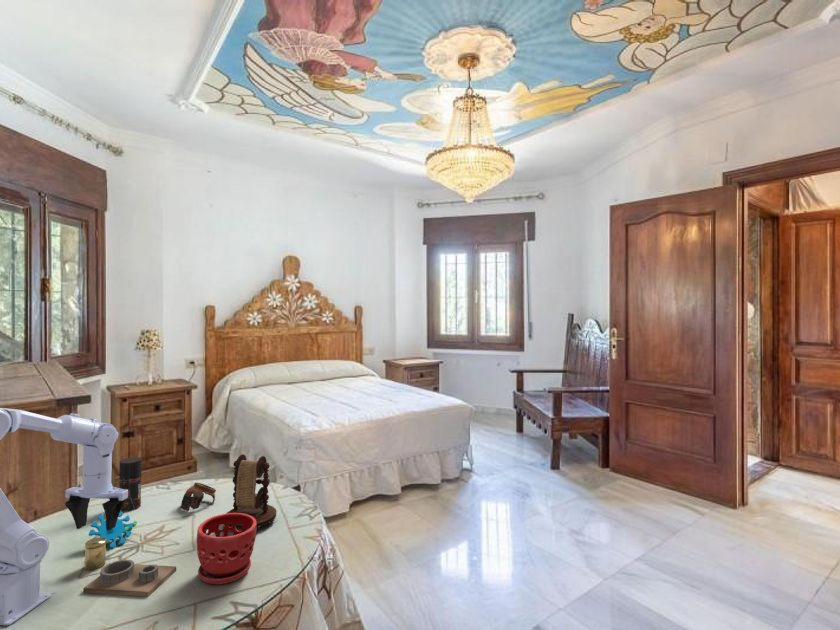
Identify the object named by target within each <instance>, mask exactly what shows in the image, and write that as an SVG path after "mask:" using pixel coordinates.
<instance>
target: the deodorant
mask: <svg viewBox="0 0 840 630" xmlns="http://www.w3.org/2000/svg"><path fill="white" fill-rule="evenodd" d="M142 460H143V459H142V457H127V458H123V459H121V460H119V473H118V475H119V476H118V478H119V479H118V481H119V482H118V488H120V489H125V490H128V498H127V500H126V502H125V503H124V505H123V507H122V509H121V512H122V513H124V512H125V513H126V512H130V511H131V512H132V511H135V510H137V509H139V508H141V507H142V506H141V505H142V471H143V470H142V469H143V468H142V465H143V461H142Z"/></svg>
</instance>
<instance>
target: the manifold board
mask: <svg viewBox="0 0 840 630" xmlns="http://www.w3.org/2000/svg"><path fill="white" fill-rule="evenodd" d="M176 571H177V566H175V565H173V566H172V565H158V564H141V563H140V564H139V563H137V564H136V563H135V561H133V560H131V559H119V560H116V561H112V562H110V563H107V564H105V565H104V566H103V567H102V568H100V571H99V576H97V577H96V578H95V579H93V580H91V581H90V582H89V583H88V584H86V586H84V587H83V593H86V594H103V595H104V594H105V595H106V594H107V595H117V596H118V595H120V596H133V597H134V596H135V597H139V596H140V597H150V596H151V595H152V594H153V593H154V592H155V591H156V590H157V589H159V588H160V587H161V585H163V584H164V583H165V582H166V581H167V580H169V578H170V577H171V576H172V575H174V573H175V572H176Z"/></svg>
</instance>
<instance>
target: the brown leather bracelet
mask: <svg viewBox="0 0 840 630" xmlns="http://www.w3.org/2000/svg"><path fill="white" fill-rule="evenodd" d="M216 491H217V490H216V489H215V488H214V487H211V486H209V485H206V484H204V483H201V482H196V481H195V482H194V484H193V485H191V486H190V487H189V488H187V490H186V491H185V492H184V495H183V497H182V500H181V503H180V509H181V510H183V511H186V512H189V511H190V508H191V509H192V510H197V509H199V508H200V505H201V503H202V501H203V499H204V497H205V495H208V496H211V497H212V502H211V503H213V504H214V503H215V500H216V494H215V493H216Z"/></svg>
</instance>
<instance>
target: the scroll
mask: <svg viewBox="0 0 840 630" xmlns="http://www.w3.org/2000/svg"><path fill="white" fill-rule="evenodd" d="M232 465H233V469H234V473H233V478H232V483H233V485H234V487H233V491H234V492H233V493H232V497H233V499H232V500H233V505H232V507H233V508H232V509H230V510H229V511H227V512H226V513H225V514H227V513H243V514H248V515H250V516H252V517H254V518H255V520H256V522H257V527H256V533H257V532H258V531H259V528H260V527H263V526H266V525H268V524H270V523H271V522H273V521H274V520H275V519H276V518H277V509H276V508H275V507H274V506H272V505H270V504H269V501H268V500H269V499H270V495H269V489H268V488H269V485H270V482H271V480H270V479H269V471H270V470H269V469H270V467H271V465H270V463H268V462H267V458H266V456H265V455H261V456H260V457H259V458H258V459H257V460H248V459H247V456H246V455H245V454H243V453H242V454H240V455H239V456H238V457H237V459H236V460H235V461H234V462H233V464H232ZM262 477H263V479H261V478H262ZM257 485H262V487H260V488H259V489H258V491H257V493H256V488H257ZM232 526H233V524H229V527H232ZM236 529H237V530H242V529H243V526H242V524H241V523H237V524H236ZM247 530H248V528H247Z"/></svg>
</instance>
